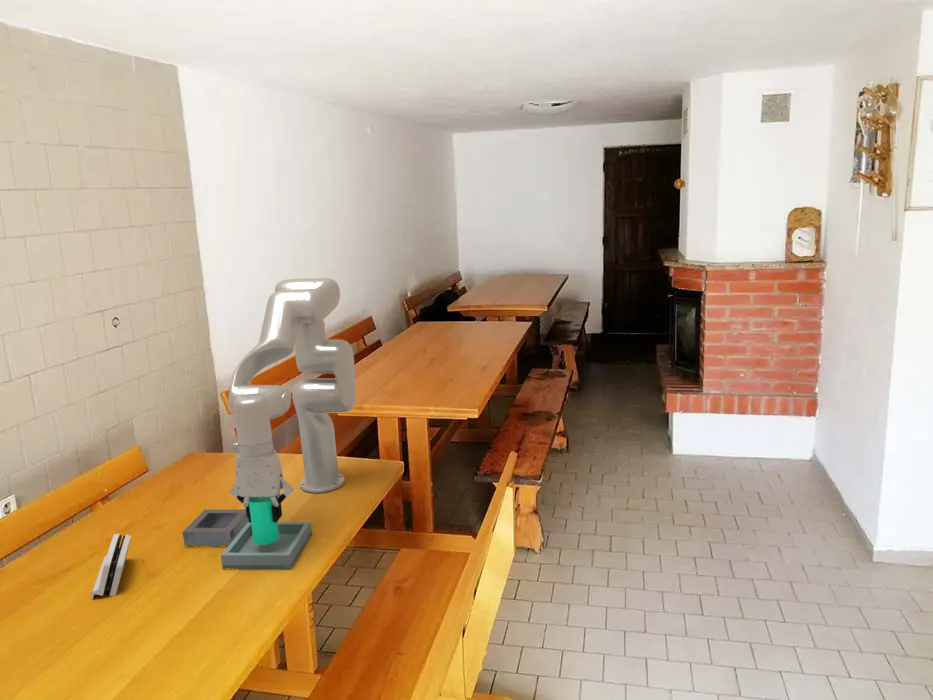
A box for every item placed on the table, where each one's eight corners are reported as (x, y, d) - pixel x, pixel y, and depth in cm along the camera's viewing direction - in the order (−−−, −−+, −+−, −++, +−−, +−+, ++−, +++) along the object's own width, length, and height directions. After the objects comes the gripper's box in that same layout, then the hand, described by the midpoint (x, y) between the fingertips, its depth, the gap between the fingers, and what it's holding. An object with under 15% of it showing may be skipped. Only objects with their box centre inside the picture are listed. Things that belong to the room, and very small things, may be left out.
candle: (259, 547, 165) (253, 499, 162) (248, 538, 169) (242, 491, 167) (283, 538, 169) (278, 491, 166) (272, 530, 173) (266, 484, 170)
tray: (249, 534, 178) (247, 522, 178) (311, 534, 177) (310, 521, 176) (222, 569, 163) (220, 555, 162) (290, 569, 161) (289, 555, 161)
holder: (206, 523, 186) (204, 509, 185) (251, 523, 184) (249, 509, 183) (184, 547, 174) (182, 532, 173) (232, 547, 173) (230, 532, 172)
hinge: (102, 563, 168) (111, 524, 167) (124, 565, 170) (133, 526, 169) (89, 601, 153) (99, 558, 152) (113, 603, 154) (123, 560, 153)
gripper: (213, 454, 161) (223, 527, 165) (286, 453, 159) (295, 527, 163) (227, 442, 168) (236, 512, 172) (297, 441, 167) (305, 512, 171)
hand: (265, 519), depth 168 cm, fingers closed on candle, 5 cm apart
